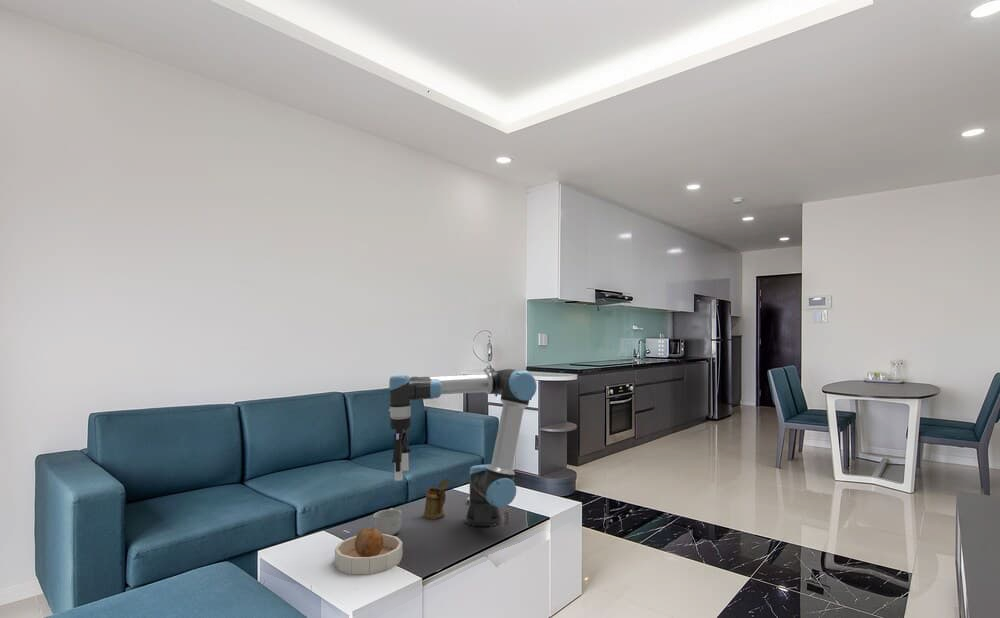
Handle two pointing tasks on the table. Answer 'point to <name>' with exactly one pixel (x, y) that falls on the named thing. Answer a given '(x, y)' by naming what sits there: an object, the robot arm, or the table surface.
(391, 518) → the teacup
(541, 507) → the table surface
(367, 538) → the onion
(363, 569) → the bowl
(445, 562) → the table surface
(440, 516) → the wooden mug
